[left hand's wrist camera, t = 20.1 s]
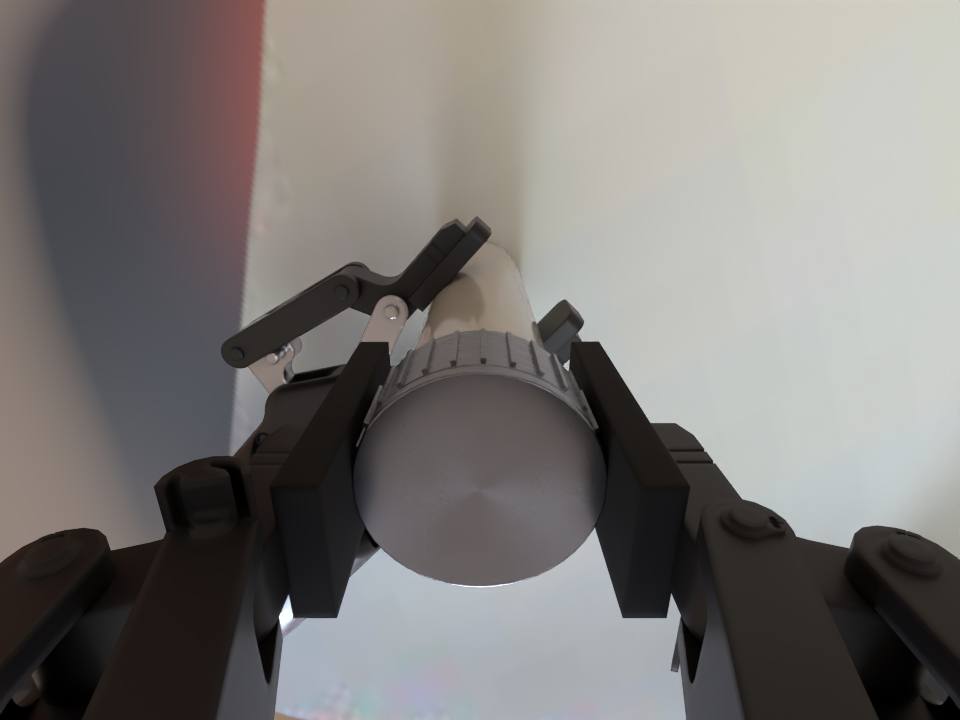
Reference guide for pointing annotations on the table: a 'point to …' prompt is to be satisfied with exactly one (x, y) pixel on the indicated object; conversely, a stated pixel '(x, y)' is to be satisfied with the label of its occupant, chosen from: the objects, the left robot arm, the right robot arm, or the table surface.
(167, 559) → the left robot arm
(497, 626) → the table surface
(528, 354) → the lid
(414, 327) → the table surface
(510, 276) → the jar
